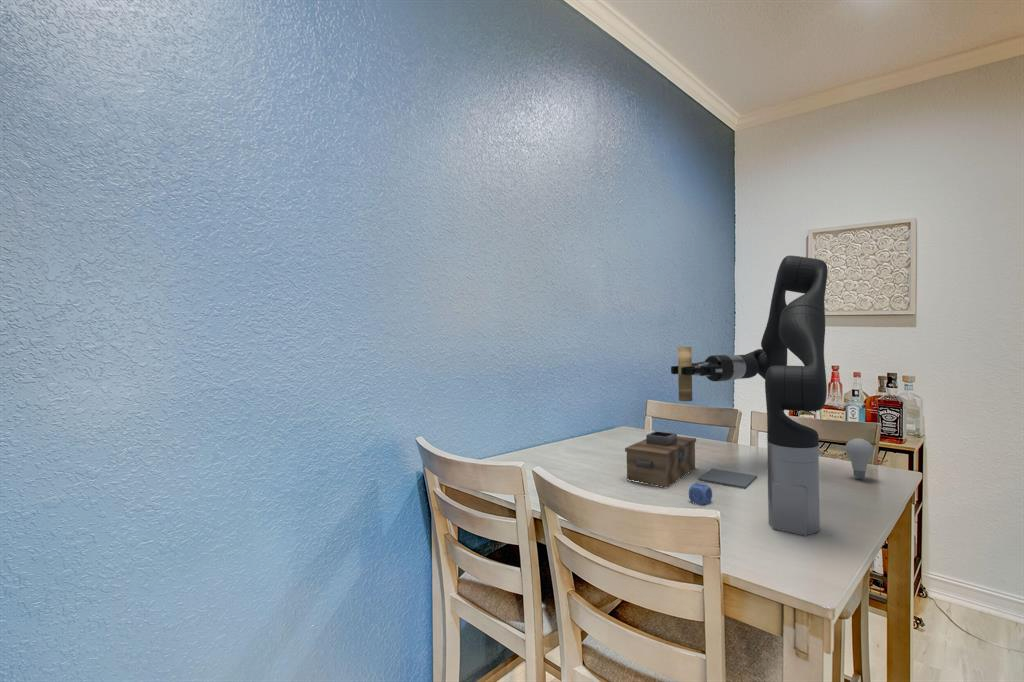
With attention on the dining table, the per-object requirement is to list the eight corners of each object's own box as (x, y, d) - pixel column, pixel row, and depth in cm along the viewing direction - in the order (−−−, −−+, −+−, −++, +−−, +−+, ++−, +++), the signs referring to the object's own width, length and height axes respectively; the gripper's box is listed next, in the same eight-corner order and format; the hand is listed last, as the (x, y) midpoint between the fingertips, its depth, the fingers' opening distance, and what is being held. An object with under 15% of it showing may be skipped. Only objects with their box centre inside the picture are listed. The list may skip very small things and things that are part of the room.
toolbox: (664, 489, 124) (664, 455, 124) (623, 481, 132) (622, 448, 132) (698, 467, 144) (697, 437, 144) (660, 461, 151) (660, 433, 151)
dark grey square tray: (668, 446, 133) (668, 437, 133) (646, 443, 137) (646, 434, 137) (677, 442, 138) (677, 433, 138) (655, 439, 142) (655, 431, 142)
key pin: (689, 401, 132) (688, 347, 132) (676, 400, 135) (675, 347, 134) (694, 400, 135) (693, 346, 135) (681, 399, 137) (680, 346, 137)
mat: (745, 489, 124) (745, 486, 124) (697, 480, 131) (697, 478, 131) (757, 477, 133) (756, 475, 133) (712, 470, 141) (712, 468, 141)
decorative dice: (696, 498, 118) (696, 481, 118) (712, 502, 115) (712, 485, 115) (688, 502, 115) (688, 485, 115) (704, 506, 112) (704, 489, 112)
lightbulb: (872, 477, 130) (872, 437, 130) (874, 484, 125) (874, 442, 125) (845, 474, 134) (844, 435, 134) (846, 480, 129) (845, 439, 128)
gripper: (706, 354, 146) (660, 356, 140) (744, 355, 133) (694, 358, 127) (707, 378, 147) (660, 382, 140) (744, 382, 133) (695, 386, 127)
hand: (677, 370), depth 134 cm, fingers closed on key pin, 3 cm apart
